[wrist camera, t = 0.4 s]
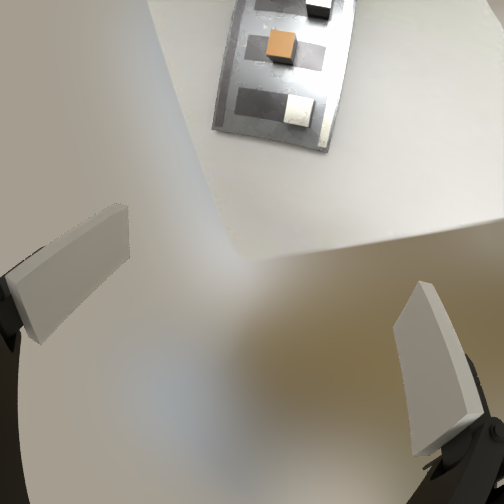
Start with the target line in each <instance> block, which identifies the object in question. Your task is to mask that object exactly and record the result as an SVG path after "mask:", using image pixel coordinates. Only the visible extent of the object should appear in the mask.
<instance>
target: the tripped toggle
mask: <svg viewBox="0 0 504 504" xmlns="http://www.w3.org/2000/svg"><path fill="white" fill-rule="evenodd" d="M297 43H298V41H297V37H296V34H295V33H293V32H286V31H279V30H271V31H270V36H269V41H268V46H267V51H266V55H267V56H268V57H269V59H270V60H271V61H276V62H282V63H288V64H294V58H295V53H296V48H297Z"/></svg>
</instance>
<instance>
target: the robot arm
mask: <svg viewBox="0 0 504 504" xmlns="http://www.w3.org/2000/svg"><path fill="white" fill-rule="evenodd" d="M128 228H129V227H128V206H126V205H122V204H117V203H114V204H113V205H111V206H109V207H107V208H106V209H104V210H102V211H101V212H99V213H97V214H95V215H94V216H92V217H90V218H89V219H87V220H85V221H84V222H82V223H81V224H79V225H77V226H76V227H74V228H72V229H71V230H69V231H68V232H66V233H65V234H63V235H61V236H60V237H58V238H57V239H55V240H54V241H53V242H51V243H49V244H48V245H46V246H44V247H41V248H40V249H38V250H37V251H36V252H34V253H33V254H32V255H30V256H28V257H27V258H26V259H25V261H24V260H23V261H22V262H20V263H19V264H18V265H16V266H15V267H13V268H12V269H11V270H10V271H8V272H7V273H6V274H4V275H3V276H2V277H0V504H30V502H29V498H28V494H27V489H26V485H25V479H24V473H23V467H22V460H21V452H20V442H19V429H18V404H17V403H18V397H17V396H18V368H19V355H20V344H21V332H20V330H19V329H20V328H21V327H22V326H23V325H24V328H25V330H26V332H27V334H28V336H29V337H30V338H31V339H33V340H34V341H35V342H37V343H38V344H40V345H42V343H43V342H44V341H45V340H46V339H47V338H48V337H49V336H50V335H51V334H52V333H53V332H54V331H55V329H57V327H58V326H59V325H60V324H61V323H62V322H63V321H64V320H65V319H66V318H67V317H68V316H69V315H70V314H71V313H72V312H73V311H74V310H75V309H76V308H77V307H78V306H79V305H80V304H81V303H82V302H83V301H84V300H85V299H86V298H87V297H88V296H89V295H90V294H91V293H92V292H93V291H94V290H96V289H97V288H98V287H99V286H100V285H101V284H102V283H103V282H104V281H105V280H106V279H107V278H108V277H109V276H110V275H111V274H113V273H114V272H115V271H116V270H117V269H118V268H119V267H120V266H121V265H122V264H123V263H125V262H126V261H127V260H128V259H129V258H130V252H129V251H130V250H129V231H128V230H129V229H128ZM393 332H394V336H395V341H396V345H397V350H398V355H399V360H400V365H401V370H402V375H403V381H404V387H405V393H406V400H407V407H408V414H409V422H410V430H411V440H412V453H413V456H430V455H431V454H433V453H434V452H435V451H437V450H438V449H440V448H441V451H442V455H441V456H439V457H438V458H436V459H434V460H433V461H431V462H430V463H428V464H427V465H425V466H424V467H423V470H425V469H427V468H428V467H430V466H432V467H431V468H430V470H429V471H428V472H427V475H426V476H425V478H424V479H423V481H422V482H421V484H420V485H419V487H418V488H417V490H416V491H415V492H414V494H413V495H412V497H411V498H410V500H409V501H408V502H407V503H406V504H504V485H502V486H500V487H499V488H497V482H498V481H500V480H502V479H503V478H504V423H503V422H502V421H501V420H500V419H498V418H496V417H491V416H490V412H489V409H488V406H487V402H486V399H485V396H484V393H483V390H482V387H481V386H480V381H479V378H478V377H477V372H476V370H475V367H474V365H473V363H472V361H471V360H470V359H469V357H468V356H467V354H464V352H463V349H462V347H461V345H460V342H459V340H458V337H457V335H456V333H455V330H454V328H453V326H452V324H451V321H450V319H449V317H448V315H447V313H446V311H445V309H444V306H443V304H442V302H441V300H440V298H439V296H438V294H437V292H436V290H435V288H434V286H433V285H432V284H430V283H426V282H422V281H418V283H417V285H416V287H415V289H414V291H413V293H412V294H411V297H410V298H409V300H408V302H407V304H406V306H405V307H404V309H403V311H402V313H401V314H400V316H399V318H398V320H397V321H396V323H395V325H394V326H393Z"/></svg>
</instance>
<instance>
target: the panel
mask: <svg viewBox="0 0 504 504" xmlns="http://www.w3.org/2000/svg"><path fill="white" fill-rule="evenodd" d="M355 6H356V0H236V1H235V5H234V10H233V14H232V19H231V23H230V28H229V33H228V38H227V43H226V48H225V53H224V58H223V64H222V69H221V75H220V80H219V86H218V92H217V98H216V105H215V111H214V118H213V124H212V130H218V131H225V132H231V133H237V134H243V135H249V136H255V137H260V138H265V139H270V140H275V141H280V142H285V143H289V144H294V145H298V146H303V147H307V148H311V149H315V150H319V151H323V152H327V153H328V149H329V145H330V140H331V136H332V131H333V127H334V122H335V117H336V113H337V108H338V103H339V98H340V93H341V88H342V83H343V78H344V72H345V67H346V62H347V56H348V50H349V44H350V38H351V32H352V26H353V19H354V13H355ZM271 30H279V31H286V32H293V33H295V34H296V37H297V41H298V43H297V48H296V53H295V58H294V64H288V63H282V62H276V61H271V60H270V59H269V57H268V56H267V55H266V51H267V46H268V41H269V36H270V31H271Z"/></svg>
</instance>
